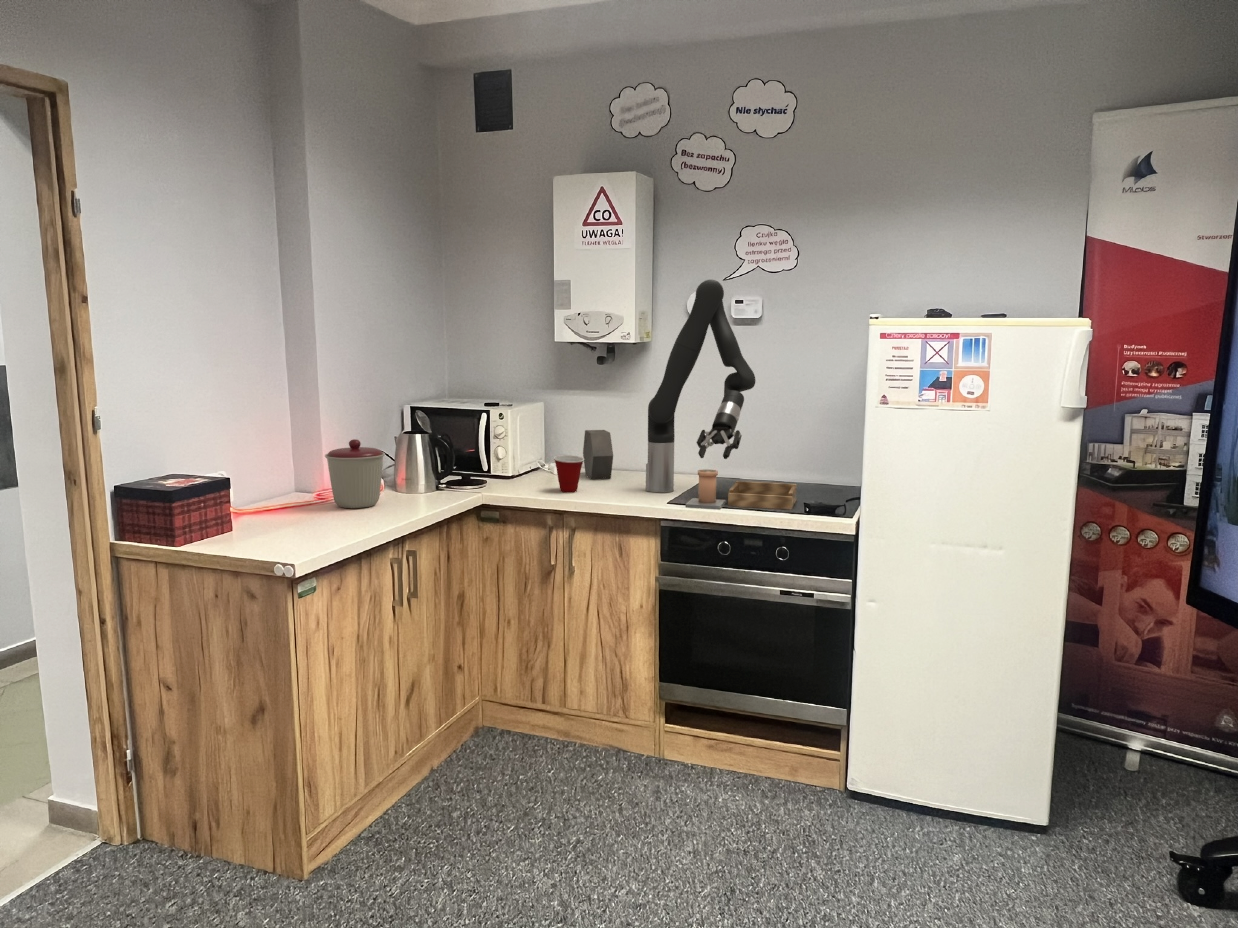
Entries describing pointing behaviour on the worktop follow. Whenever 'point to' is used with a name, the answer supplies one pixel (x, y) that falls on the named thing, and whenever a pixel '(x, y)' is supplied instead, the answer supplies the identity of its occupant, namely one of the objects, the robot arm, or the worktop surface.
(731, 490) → the wooden tray
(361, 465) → the canister
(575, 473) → the plastic cup
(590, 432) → the grey hexagonal block
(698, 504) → the slate tile
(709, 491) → the terracotta pot
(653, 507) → the worktop surface
